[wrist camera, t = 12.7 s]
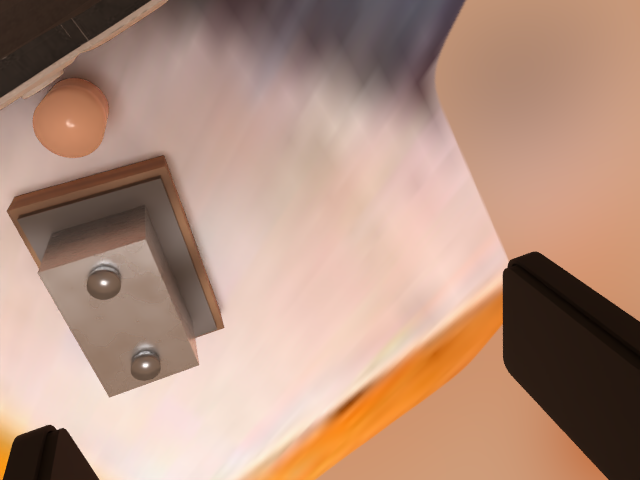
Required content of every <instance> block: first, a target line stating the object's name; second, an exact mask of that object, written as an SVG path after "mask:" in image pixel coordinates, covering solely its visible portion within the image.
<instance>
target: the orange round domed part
mask: <svg viewBox="0 0 640 480" xmlns="http://www.w3.org/2000/svg"><path fill="white" fill-rule="evenodd" d="M108 114H109V106H108V102H107V99H106V97H105V95H104V94H103V92H102V91H101V90H100V89H99V88H98V87H97V86H95V85H94V84H92V83H91V82H89V81H87V80H83V79H79V78H69V79H65V80H62V81H60V82H58V83H57V84H55V85H54V86H53V87H52V89H51V90H50V91H49V92H48V94H47V95H46V96H45V97H44V99H43V100H42V101H41V102H40V104H39V105H38V106H37V108H36V110H35V112H34V115H33V128H34V132H35V134H36V136H37V138H38V140H39V141H40V142H41V143H42V145H43V146H44V147H46V148H47V149H48V150H50V151H51V152H53V153H55V154H57V155H60V156H63V157H69V158H77V157H83V156H86V155H88V154H90V153H92V152H93V151H94V150H96V149H97V148H98V146H99V145H100V144H101V142H102V139H103V136H104V132H105V128H106V123H107V119H108Z"/></svg>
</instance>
